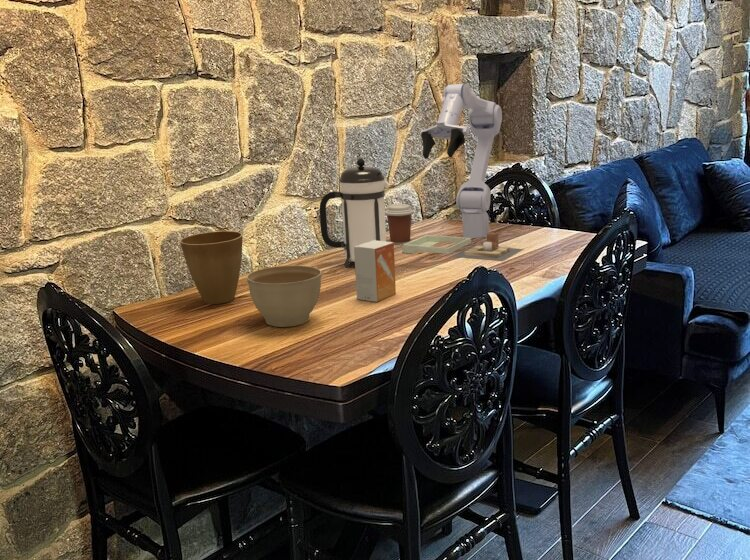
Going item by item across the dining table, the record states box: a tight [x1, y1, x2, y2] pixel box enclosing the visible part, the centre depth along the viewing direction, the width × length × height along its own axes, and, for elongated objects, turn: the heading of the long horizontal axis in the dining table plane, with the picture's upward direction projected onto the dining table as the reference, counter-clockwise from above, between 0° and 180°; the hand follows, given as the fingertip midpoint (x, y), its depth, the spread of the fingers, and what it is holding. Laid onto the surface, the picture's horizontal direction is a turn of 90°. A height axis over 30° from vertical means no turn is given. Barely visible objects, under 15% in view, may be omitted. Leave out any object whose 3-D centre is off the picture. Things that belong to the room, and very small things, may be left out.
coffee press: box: [319, 158, 391, 269], centre depth 203 cm, size 17×16×30 cm
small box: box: [354, 240, 397, 303], centre depth 172 cm, size 8×6×13 cm
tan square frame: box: [464, 231, 511, 258], centre depth 207 cm, size 10×10×5 cm
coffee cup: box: [385, 203, 414, 246], centre depth 231 cm, size 9×9×12 cm
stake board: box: [450, 241, 524, 262], centre depth 208 cm, size 16×16×4 cm
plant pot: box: [179, 230, 243, 305], centre depth 175 cm, size 15×15×16 cm
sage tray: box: [401, 234, 472, 255], centre depth 220 cm, size 16×16×2 cm
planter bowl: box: [246, 265, 323, 328], centre depth 157 cm, size 16×16×11 cm
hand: (437, 156), depth 201 cm, fingers open, 7 cm apart
